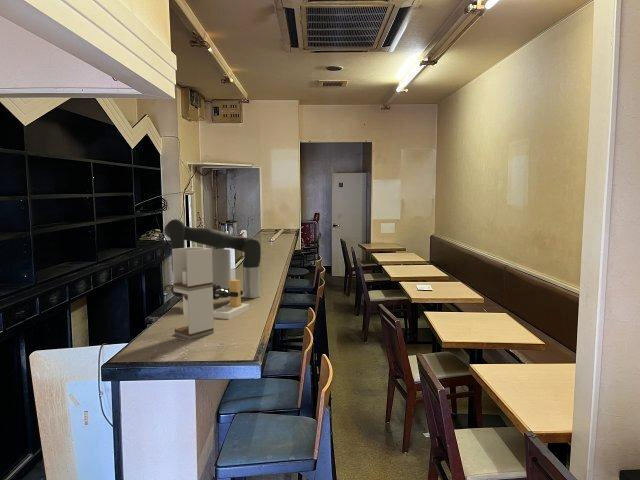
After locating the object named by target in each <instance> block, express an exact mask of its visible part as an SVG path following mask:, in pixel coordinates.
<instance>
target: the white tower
mask: <svg viewBox="0 0 640 480" xmlns="http://www.w3.org/2000/svg"><path fill="white" fill-rule="evenodd" d="M212 250H213V248H210V247H200V246H191V247H189V246H188V247H184V248H179V249H172V248H171V258H172V257H173V273H172V284H173V285H172V286H173V291H174V292H178V293H183V297H182V308H183V310H182V312H183V315H184V316H185V317H186V318H187V319H188V320H187V322H188V323H187V324H188V326H187V325H186V326H183V327H179V328H175V329H174V335H176V336H179V337H182V338H185V339H187V340H193V339H196V338H201V337H203V336H206V335H210V334H214V333H215V332H214V331H215V330H214V328H215V327H214V326H215V325H214V318H213V310H214V299H213V274H212Z"/></svg>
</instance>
